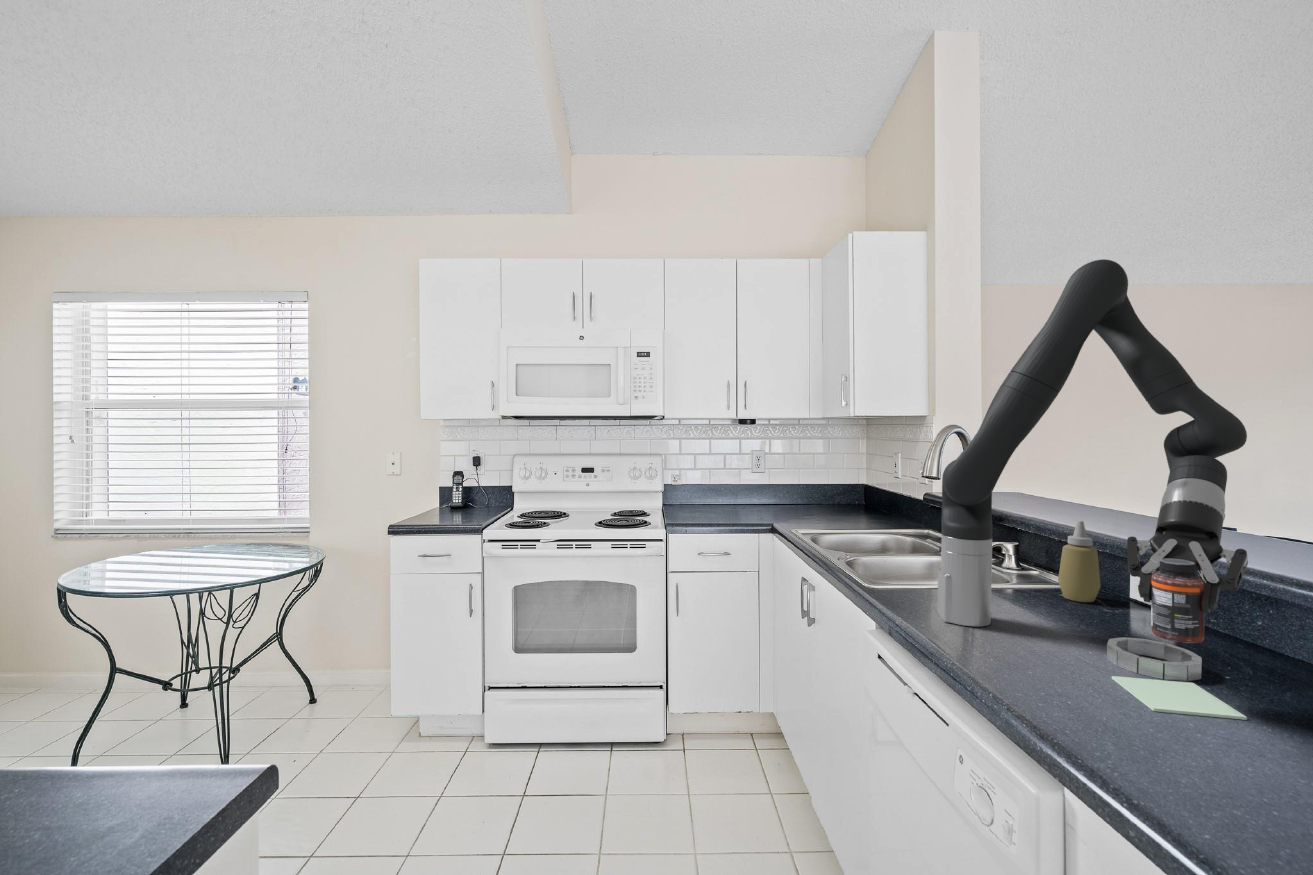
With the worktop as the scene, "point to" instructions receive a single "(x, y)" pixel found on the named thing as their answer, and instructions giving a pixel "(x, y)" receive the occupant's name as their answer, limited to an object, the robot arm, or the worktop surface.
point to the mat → (1177, 697)
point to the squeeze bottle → (1079, 567)
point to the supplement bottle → (1177, 602)
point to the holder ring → (1180, 667)
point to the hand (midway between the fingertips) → (1175, 603)
